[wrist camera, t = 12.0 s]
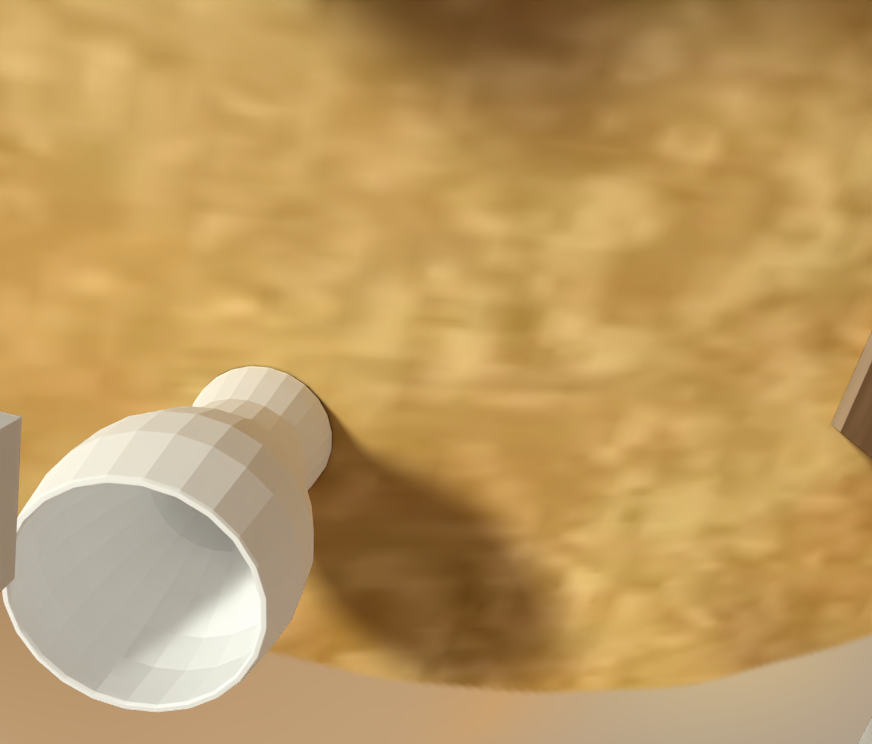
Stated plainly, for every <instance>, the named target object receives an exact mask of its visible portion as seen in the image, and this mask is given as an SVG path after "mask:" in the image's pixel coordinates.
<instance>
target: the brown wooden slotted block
mask: <svg viewBox="0 0 872 744" xmlns="http://www.w3.org/2000/svg"><path fill="white" fill-rule="evenodd" d="M831 425H832V426H833V427H835V428H836V429H837V430H838V431H839V432H841V433H842V434H843V435H844V436H846V437H847V438H848V439H849V440H850V441H852V442H853V443H854V444H855V445H856V446H858V447H859V448H860V449H861V450H862V451H864V452H865V453H866V454H867V455H868V456H870V457H871V458H872V333H871V335H870V337H869V340H868V342H867V344H866V346H865V349H864V351H863V353H862V356H861V358H860V360H859V362H858V365H857V367H856V369H855V372H854V374H853V376H852V378H851V381H850V383H849V385H848V388H847V390H846V392H845V394H844V397H843V399H842V401H841V404H840V406H839V408H838V410H837V413H836V415H835V417H834V420H833V422H832V424H831Z"/></svg>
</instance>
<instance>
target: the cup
mask: <svg viewBox="0 0 872 744" xmlns="http://www.w3.org/2000/svg"><path fill="white" fill-rule="evenodd" d="M331 447H332V431H331V427H330V423H329V419H328V416H327V413H326V412H325V410H324V408H323V406H322V405H321V403H320V401H319V399H318V398H317V397H316V396H315V395H314V394H313V393H312V392H311V391H310V389H309V388H308V387H307V386H306V385H305V384H303V383H302V382H300V381H298V380H297V379H295V378H294V377H292V376H291V375H289V374H287V373H284V372H281V371H278V370H275V369H272V368H267V367H255V366H249V367H243V368H238V369H232V370H230V371H228V372H226V373H224V374H222V375H220V376H218V377H216V378H215V379H214V380H213V381H212V382H210V383H209V384H208V385H207V386H206V387H205V388H204V389H203V390H202V392H201V393H200V394H199V396H198V397H197V399H196V400H195V402H194V403H193V405H192V406H183V407H177V408H171V409H165V410H160V411H154V412H149V413H144V414H139V415H133V416H128V417H126V418H124V419H122V420H120V421H118V422H116V423H113V424H111V425H109V426H107V427H105V428H103V429H101V430H99V431H98V432H96V433H95V434H93V435H92V436H91V437H89V438H88V439H87V440H85V441H84V442H83V443H81V444H80V445H79V446H77V447H76V448H74V449H73V450H72V451H70V452H69V453H68V454H67V455H66V456H65V457H64V458H63V459H62V460H61V461H60V462H59V463H58V464H57V465H55V466H54V467H53V468H52V469H51V470H50V471H49V472H48V473H47V474H46V476H45V477H44V479H43V480H42V482H41V483H40V485H39V486H38V488H37V489H36V491H35V492H34V494H33V495H32V497H31V498H30V500H29V501H28V503H27V504H26V506H25V507H24V509H23V510H22V512H21V513H20V514H19V516H18V518H17V535H16V558H15V579H14V580H13V581H12V582H11V583H10V584H9V585H7V586H6V587H5V588H4V589H3V590H2V592H3V599H4V604H5V606H6V609H7V611H8V614H9V616H10V618H11V620H12V623H13V625H14V628H15V630H16V632H17V634H18V635H19V636H20V638H21V639H22V640H23V642H24V643H25V644H26V646H27V647H28V648H29V650H30V651H31V653H32V654H33V655H34V657H35V658H36V659H37V660H38V661H39V662H40V663H42V664H43V665H44V666H45V667H46V668H47V669H48V670H50V671H51V672H52V673H53V674H54V675H55V676H57V677H58V678H59V679H60V680H61V681H63V682H64V683H66V684H68V685H70V686H71V687H73V688H75V689H77V690H78V691H80V692H82V693H84V694H86V695H88V696H89V697H91V698H93V699H96V700H99V701H102V702H106V703H109V704H112V705H115V706H119V707H121V708H124V709H133V710H143V711H152V712H163V711H171V710H180V709H189V708H191V707H194V706H197V705H199V704H202V703H205V702H207V701H210V700H213V699H215V698H218V697H220V696H221V695H223V694H224V693H225V692H227V691H228V690H229V689H231V688H232V687H233V686H235V685H236V684H237V683H239V682H240V681H241V680H243V679H244V678H245V677H246V675H247V674H248V673H249V672H250V671H251V670H252V668H253V667H254V666H255V665H256V664H257V663H258V662H259V660H260V659H261V658H262V657H263V656H264V655H265V654H266V652H267V651H268V650H269V649H270V648H271V647H272V646H273V644H274V643H275V642H276V640H277V639H278V638H279V636H280V635H281V634H282V632H283V631H284V630H285V628H286V627H287V625H288V624H289V623H290V621H291V620H292V618H293V615H294V613H295V610H296V608H297V605H298V603H299V600H300V598H301V595H302V593H303V590H304V588H305V585H306V582H307V579H308V576H309V573H310V570H311V567H312V564H313V551H314V527H313V516H312V505H311V502H310V498H309V494H308V490H309V489H310V487H311V486H312V485H313V484H314V482H315V481H316V480H317V479H318V477H319V476H320V474H321V473H322V471H323V470H324V468H325V467H326V465H327V462H328V459H329V456H330V453H331Z"/></svg>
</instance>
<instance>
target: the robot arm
mask: <svg viewBox="0 0 872 744" xmlns="http://www.w3.org/2000/svg"><path fill="white" fill-rule="evenodd" d="M21 421H22V417H21V416H17V415H13V414H8V413H4V412H0V592H1V591H2V590H3V589H4V588H5V587H6V586H7V585H9V584H10V583H11V582H12V581H13V580H14V579H15V558H16V535H17V512H18V490H19V467H20V444H21ZM858 744H872V718H871V720H870V722H869V724H868V726H867V728H866V729H865V732H864V733H863V735H862V737H861V739H860V741H859V743H858Z"/></svg>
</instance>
